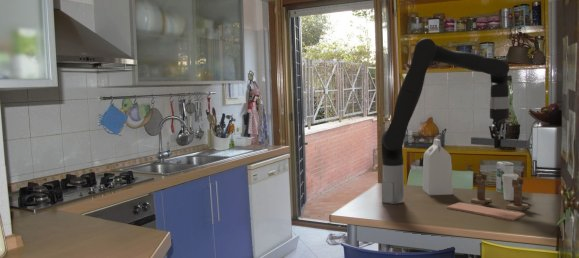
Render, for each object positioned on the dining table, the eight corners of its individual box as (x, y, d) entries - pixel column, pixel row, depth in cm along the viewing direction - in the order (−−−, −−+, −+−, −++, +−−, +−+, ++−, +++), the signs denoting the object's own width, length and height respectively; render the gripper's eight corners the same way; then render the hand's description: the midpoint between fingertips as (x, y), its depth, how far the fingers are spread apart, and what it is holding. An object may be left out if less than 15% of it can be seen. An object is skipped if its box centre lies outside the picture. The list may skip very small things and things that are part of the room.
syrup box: (495, 191, 232) (495, 161, 231) (507, 190, 232) (507, 161, 231) (501, 193, 226) (502, 163, 225) (513, 193, 227) (514, 162, 225)
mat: (513, 220, 182) (513, 218, 182) (446, 208, 203) (446, 206, 203) (524, 215, 188) (524, 213, 188) (459, 204, 209) (459, 202, 209)
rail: (526, 148, 194) (526, 140, 194) (470, 144, 212) (471, 137, 212) (529, 147, 196) (529, 140, 196) (474, 143, 214) (474, 136, 214)
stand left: (483, 204, 208) (483, 176, 207) (470, 202, 212) (470, 175, 211) (491, 201, 212) (491, 174, 211) (478, 199, 217) (478, 172, 216)
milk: (453, 194, 228) (453, 140, 226) (429, 195, 228) (428, 141, 226) (445, 189, 240) (445, 137, 238) (422, 189, 240) (421, 138, 238)
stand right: (521, 210, 196) (521, 181, 195) (506, 208, 200) (506, 179, 199) (528, 207, 200) (528, 178, 199) (514, 205, 205) (514, 177, 204)
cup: (502, 200, 214) (502, 176, 213) (501, 197, 220) (502, 173, 219) (518, 201, 211) (518, 176, 210) (517, 197, 217) (517, 174, 216)
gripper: (498, 106, 210) (498, 145, 212) (482, 108, 201) (482, 149, 202) (515, 106, 204) (515, 146, 206) (500, 108, 195) (500, 150, 197)
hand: (499, 147), depth 204 cm, fingers closed on rail, 3 cm apart
